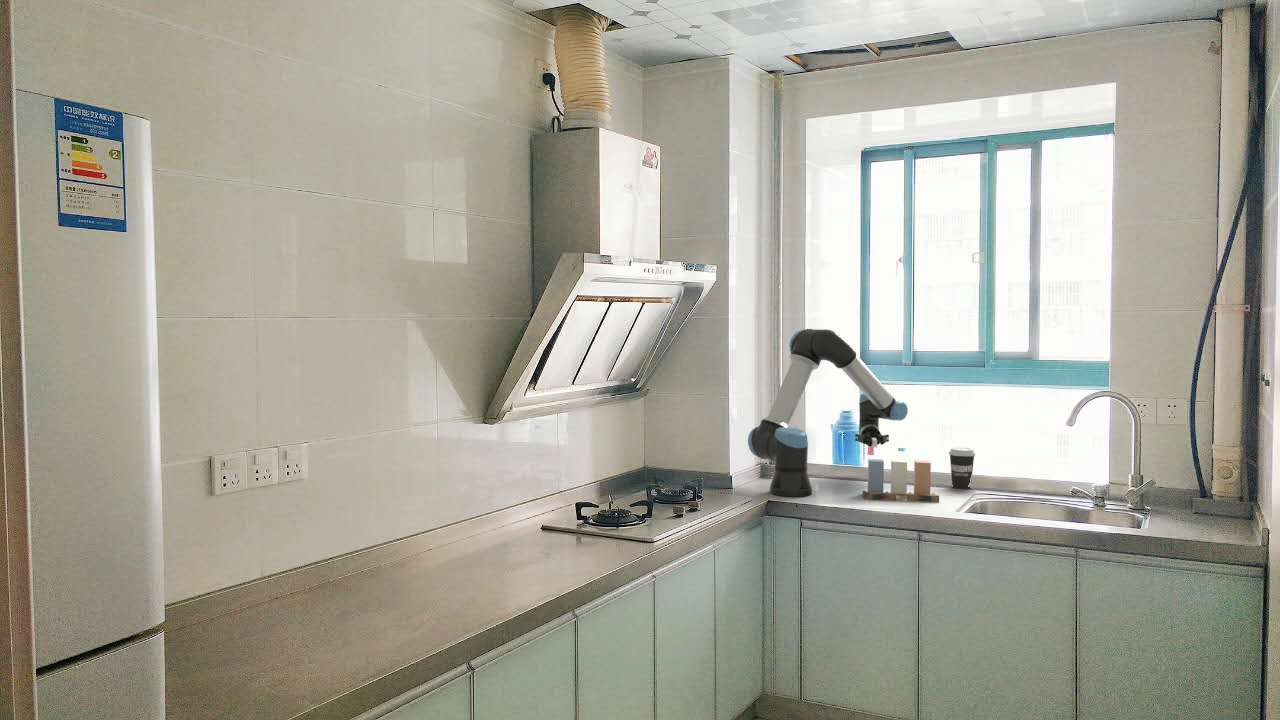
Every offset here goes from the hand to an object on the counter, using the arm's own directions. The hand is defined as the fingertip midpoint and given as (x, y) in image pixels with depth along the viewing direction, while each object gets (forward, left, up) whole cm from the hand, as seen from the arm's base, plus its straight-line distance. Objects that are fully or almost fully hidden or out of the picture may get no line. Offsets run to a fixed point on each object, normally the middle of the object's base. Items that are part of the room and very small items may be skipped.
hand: (874, 443), depth 332 cm
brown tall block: (+16, -9, -17) cm, 25 cm away
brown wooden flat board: (+8, -12, -18) cm, 23 cm away
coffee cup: (+33, +13, -18) cm, 40 cm away
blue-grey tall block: (0, -9, -17) cm, 19 cm away
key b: (+8, -9, -17) cm, 21 cm away
